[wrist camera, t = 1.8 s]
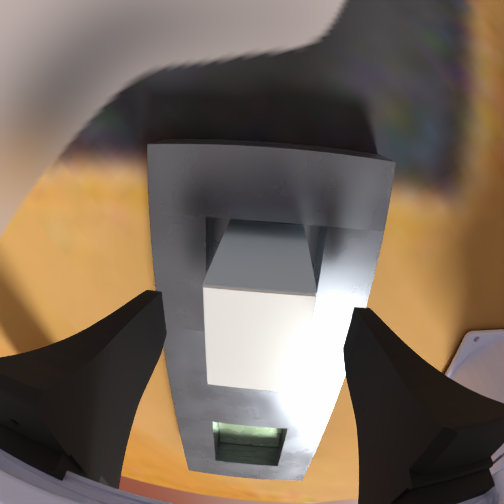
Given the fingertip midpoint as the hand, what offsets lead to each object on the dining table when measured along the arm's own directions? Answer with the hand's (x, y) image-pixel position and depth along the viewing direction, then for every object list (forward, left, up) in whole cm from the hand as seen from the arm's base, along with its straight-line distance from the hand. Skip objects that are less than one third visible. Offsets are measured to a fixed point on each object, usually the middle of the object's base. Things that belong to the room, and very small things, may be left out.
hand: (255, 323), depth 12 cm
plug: (0, 0, -5) cm, 5 cm away
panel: (0, +7, -5) cm, 9 cm away
